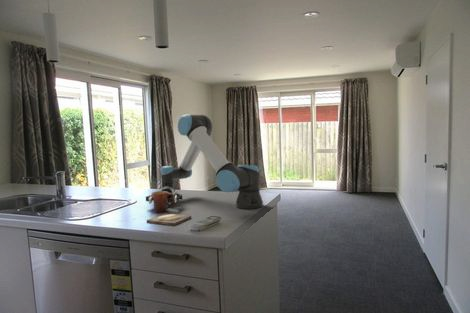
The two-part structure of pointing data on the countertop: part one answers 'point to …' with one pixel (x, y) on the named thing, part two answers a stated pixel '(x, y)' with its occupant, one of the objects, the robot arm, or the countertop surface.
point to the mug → (161, 201)
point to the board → (169, 219)
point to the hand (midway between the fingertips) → (162, 200)
